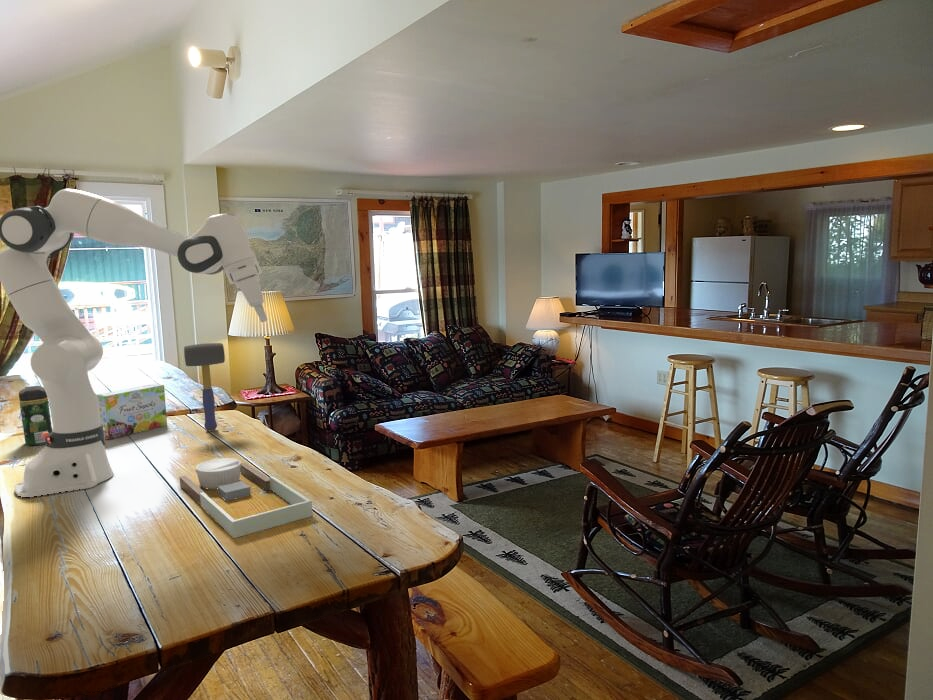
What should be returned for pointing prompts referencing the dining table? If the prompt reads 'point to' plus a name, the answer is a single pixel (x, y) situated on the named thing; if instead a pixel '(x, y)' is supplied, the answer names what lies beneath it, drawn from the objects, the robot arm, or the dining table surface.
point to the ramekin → (218, 472)
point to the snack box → (132, 410)
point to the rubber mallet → (206, 374)
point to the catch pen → (265, 520)
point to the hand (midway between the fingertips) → (264, 321)
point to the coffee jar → (34, 414)
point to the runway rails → (244, 469)
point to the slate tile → (234, 490)
